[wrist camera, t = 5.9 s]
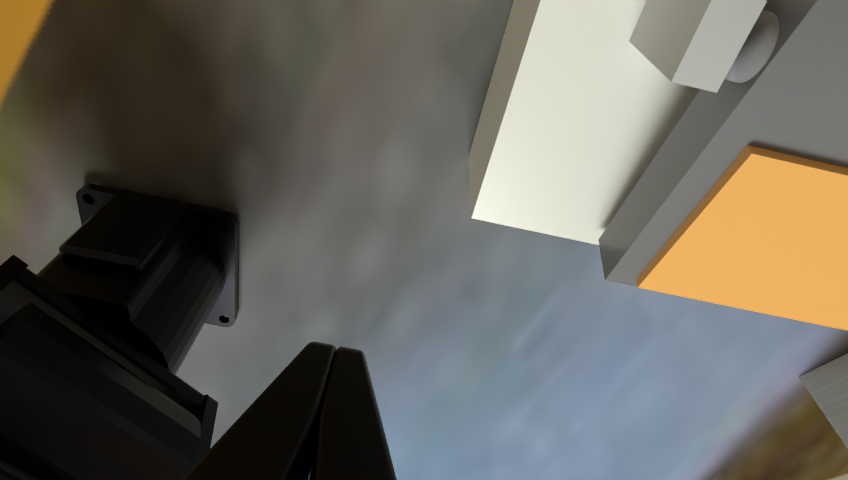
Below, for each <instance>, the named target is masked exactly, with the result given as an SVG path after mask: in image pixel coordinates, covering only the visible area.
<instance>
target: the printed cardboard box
mask: <svg viewBox="0 0 848 480" xmlns="http://www.w3.org/2000/svg"><path fill="white" fill-rule="evenodd" d="M799 378H800V380H801V381H802V382H803V384H804V385H805V387H806V388H807V390H808V391H809V393H810V394H811V396H812V397H813V399H814V400H815V401H816V403H817V404H818V406H819V407H820V409H821V410H822V412H823V413H824V415H825V416H826V418H827V419H828V421H829V422H830V423H831V425H832V426H833V428H834V429H835V431H836V432H837V434H838V435H839V437H840V438H841V440H842V441H843V442H844V444H845V445H846V447H847V448H848V353H847V354H845V355H843V356H841V357H839V358H837V359H835V360H833V361H831V362H828V363H826V364H824V365H822V366H820V367H818V368H816V369H814V370H812V371H810V372H807V373H805V374H803V375H801V376H799Z"/></svg>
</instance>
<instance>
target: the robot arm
mask: <svg viewBox="0 0 848 480" xmlns="http://www.w3.org/2000/svg"><path fill="white" fill-rule="evenodd" d="M89 194H90V195H92V196H93V197H94V199H93V198H91V197H90V196H89ZM76 198H77V203H78V208H79V213H80V218H81V223H82V226H81V227H80V228H79V229H78V230H77V231H76V232H75V233H74V234H72V235H71V236H70V237H69V238H68V239H67V240H66V241H65V242H64V243H63V244H62V245H61V246H60V247H59V251H60V253H59V254H58V255H57V256H56V257H55V258H54V259H53V260H52V261H51V262H49V263H48V264H47V265H46V266H45V267H44V268H43V269H42V270H41V271H40V272H39V273H38V274H37V275H36V274H34V273H33V272H32V271H30V270H29V269H28V268H26V267H27V266H28V265H27V264H26V263H24V262H23V261H22V260H20V259H19V258H18V257H16V256H15V255H12V256H11V257H10V258H9V259H8V260H7V261H5V262H4V263H3V264H2V265H1V266H0V480H397V479H396V476H395V472H394V468H393V464H392V460H391V456H390V452H389V448H388V444H387V441H386V437H385V433H384V429H383V425H382V421H381V417H380V413H379V409H378V406H377V402H376V398H375V394H374V390H373V386H372V382H371V378H370V374H369V371H368V367H367V363H366V359H365V355H364V353H363V352H362V351H361V350H356V349H351V348H346V347H339V348H338V349H337V350H336V348H335V346H333V345H330V344H324V343H319V342H311V343H309V344H308V345H307V346H306V347H305V348H304V349H303V350H302V351H301V352H300V353H299V354H298V355H297V356H296V357H295V358H294V360H293V361H292V362H291V363H290V364H289V365H288V366H287V367H286V368H285V369H284V370H283V371H282V372H281V373H280V375H279V376H278V377H277V378H276V379H275V380H274V381H273V382H272V383H271V384H270V385H269V386H268V387H267V389H266V390H265V391H264V392H263V393H262V394H261V395H260V396H259V397H258V398H257V399H256V400H255V401H254V403H253V404H252V405H251V406H250V407H249V408H248V409H247V410H246V411H245V412H244V413H243V414H242V415H241V417H240V418H239V419H238V420H237V421H236V422H235V423H234V424H233V425H232V426H231V427H230V428H229V429H228V430H227V432H226V433H225V434H224V435H223V436H222V437H221V438H220V439H219V440H218V441H217V442H216V443H215V444H214V446H213V447H212V448H211V449H210V445H211V440H212V434H213V429H214V423H215V418H216V412H217V407H218V402H217V401H215V400H214V399H212V398H211V397H210V396H208V395H202V394H201V393H200V392H198V391H197V390H196V389H194V388H193V387H191V386H190V385H189V384H187V383H186V382H184V381H183V380H182V379H180V378H179V377H177V376H176V373H177V371H178V369H179V367H180V366H181V364H182V362H183V360H184V359H185V357H186V355H187V353H188V351H189V350H190V348H191V346H192V344H193V343H194V341H195V339H196V337H197V335H198V334H199V332H200V330H201V328H202V327H203V325H204V323H207V324H212V325H217V326H223V327H229V326H232V325H233V324H234V322H235V320H236V318H237V299H238V220H237V218H236V217H235V216H234V215H233V214H232V213H230V212H227V211H222V210H218V209H213V208H208V207H203V206H198V205H193V204H188V203H183V202H181V201H177V200H172V199H167V198H163V197H158V196H153V195H148V194H143V193H138V192H133V191H128V190H119V189H114V188H110V187H105V186H100V185H95V184H86V185H84V186H83V187H82V188H80V189H79V190H78V191H77V193H76ZM221 221H224V222H226V223H227V224H228V225H229V226H225V225H223V224H222V223H221ZM224 316H227V317H228V318H227V317H224ZM309 476H310V477H309Z"/></svg>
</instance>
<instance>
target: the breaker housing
mask: <svg viewBox="0 0 848 480" xmlns="http://www.w3.org/2000/svg"><path fill="white" fill-rule="evenodd" d="M766 2H767V0H514V1H513V5H512V8H511V12H510V15H509V19H508V22H507V25H506V29H505V32H504V36H503V39H502V43H501V46H500V50H499V53H498V57H497V60H496V63H495V67H494V70H493V74H492V77H491V81H490V84H489V88H488V91H487V94H486V98H485V101H484V105H483V108H482V112H481V115H480V119H479V122H478V125H477V129H476V132H475V136H474V139H473V143H472V146H471V150H470V153H469V175H470V198H471V218H473V219H478V220H483V221H487V222H492V223H497V224H502V225H506V226H511V227H516V228H521V229H525V230H530V231H535V232H540V233H544V234H549V235H554V236H559V237H563V238H568V239H573V240H578V241H582V242H587V243H592V244H597V245H599V241H598V240H599V238H600V237H601V235H602V234H603V232H604V231H605V229H606V228H607V226H608V225H609V223H610V222H611V220H612V219H613V217H614V216H615V214H616V213H617V211H618V210H619V209H620V207H621V206H622V204H623V203H624V201H625V200H626V198H627V197H628V195H629V194H630V192H631V191H632V189H633V188H634V186H635V185H636V183H637V182H638V181H639V179H640V178H641V176H642V175H643V173H644V172H645V170H646V169H647V167H648V166H649V164H650V163H651V161H652V160H653V158H654V157H655V155H656V154H657V152H658V151H659V150H660V148H661V147H662V145H663V144H664V142H665V141H666V139H667V138H668V136H669V135H670V133H671V132H672V130H673V129H674V127H675V126H676V124H677V123H678V121H679V120H680V119H681V117H682V116H683V114H684V113H685V111H686V110H687V108H688V107H689V105H690V104H691V102H692V101H693V99H694V98H695V96H696V95H697V93H698V92H699V91H700V89H703V90H707V91H711V92H715V93H717V92H718V90H719V88H720V86H721V84H722V82H723V81H724V79H725V77H726V75H727V73H728V72H729V70H730V68H731V66H732V64H733V62H734V61H735V59H736V57H737V55H738V53H739V51H740V50H741V48H742V46H743V44H744V42H745V41H746V39H747V37H748V35H749V33H750V31H751V30H752V28H753V26H754V24H755V22H756V21H757V19H758V17H759V15H760V13H761V11H762V10H763V8H764V6H765V4H766Z"/></svg>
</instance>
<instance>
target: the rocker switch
mask: <svg viewBox="0 0 848 480" xmlns="http://www.w3.org/2000/svg"><path fill="white" fill-rule="evenodd" d="M598 241H599V247H600V253H601V259H602V265H603V270H604V276H605V280H608V281H613V282H617V283H622V284H627V285H632V286H637V287H638V288H643V289H648V290H652V291H657V292H662V293H667V294H672V295H677V296H682V297H687V298H691V299H696V300H701V301H706V302H711V303H716V304H721V305H726V306H730V307H735V308H740V309H745V310H750V311H755V312H760V313H765V314H770V315H774V316H779V317H784V318H789V319H794V320H799V321H804V322H809V323H813V324H818V325H823V326H828V327H833V328H838V329H843V330H848V0H767V2H766V4H765V6H764V8H763V10H762V11H761V13H760V15H759V17H758V19H757V21H756V22H755V24H754V26H753V28H752V30H751V31H750V33H749V35H748V37H747V39H746V41H745V42H744V44H743V46H742V48H741V50H740V51H739V53H738V55H737V57H736V59H735V61H734V62H733V64H732V66H731V68H730V70H729V72H728V73H727V75H726V77H725V79H724V81H723V82H722V84H721V86H720V88H719V90H718V92H717V93H715V92H711V91H707V90H703V89H700V91H699V92H698V93H697V95H696V96H695V98H694V99H693V101H692V102H691V104H690V105H689V107H688V108H687V110H686V111H685V113H684V114H683V116H682V117H681V119H680V120H679V121H678V123H677V124H676V126H675V127H674V129H673V130H672V132H671V133H670V135H669V136H668V138H667V139H666V141H665V142H664V144H663V145H662V147H661V148H660V150H659V151H658V152H657V154H656V155H655V157H654V158H653V160H652V161H651V163H650V164H649V166H648V167H647V169H646V170H645V172H644V173H643V175H642V176H641V178H640V179H639V181H638V182H637V183H636V185H635V186H634V188H633V189H632V191H631V192H630V194H629V195H628V197H627V198H626V200H625V201H624V203H623V204H622V206H621V207H620V209H619V210H618V211H617V213H616V214H615V216H614V217H613V219H612V220H611V222H610V223H609V225H608V226H607V228H606V229H605V231H604V232H603V234H602V235H601V237H600V238H599V240H598Z"/></svg>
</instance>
